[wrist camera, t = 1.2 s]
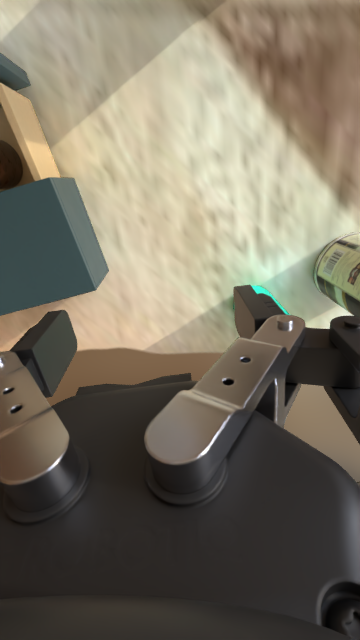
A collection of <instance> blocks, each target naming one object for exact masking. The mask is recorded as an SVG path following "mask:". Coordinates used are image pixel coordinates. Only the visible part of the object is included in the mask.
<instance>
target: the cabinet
mask: <svg viewBox="0 0 360 640" xmlns="http://www.w3.org/2000/svg"><path fill="white" fill-rule="evenodd" d="M108 271H109V269H108V267H107V264H106V261H105V259H104V256H103V254H102V251H101V248H100V246H99V243H98V240H97V238H96V235H95V232H94V230H93V227H92V224H91V222H90V219H89V217H88V214H87V211H86V209H85V206H84V203H83V201H82V198H81V195H80V193H79V190H78V188H77V185H76V182H75V180H74V178H58V177H48V178H45V179H41V180H38V181H35V182H31V183H28V184H25V185H21V186H18V187H15V188H11V189H8V190H5V191H1V192H0V316H1V315H5V314H8V313H12V312H16V311H20V310H24V309H27V308H31V307H35V306H39V305H42V304H46V303H50V302H54V301H58V300H61V299H65V298H69V297H73V296H76V295H80V294H84V293H88V292H91V291H95V290H96V289H97V288H98V286H99V285H100V283H101V282H102V280H103V279H104V277H105V276H106V274H107V273H108Z"/></svg>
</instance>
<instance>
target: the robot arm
mask: <svg viewBox="0 0 360 640" xmlns="http://www.w3.org/2000/svg"><path fill="white" fill-rule="evenodd" d="M234 310H235V323H236V328H237V331H238V333H239V335H240V337H239V338H237V339H236V340H235V342H234V343H233V344H232V345H231V346H230V347H229V348H228V349H227V350H226V352H225V353H224V354H223V355H222V356H221V357H220V358H219V359H218V360H217V361H216V363H215V364H214V365H213V366H212V367H211V368H210V369H209V370H208V372H207V373H206V374H205V375H204V376H203V377H202V378H201V379H200V380H199V381H192V380H191V373H188V374H179V375H171V376H164V377H160V378H157V379H153V380H150V381H146V382H143V383H140V384H137V385H117V384H102V385H94V386H86V387H79V389H78V391H77V394H76V396H73V397H70V398H68V399H65V400H63V401H61V402H59V403H57V404H55V405H53V406H52V407H50V405H49V403H48V402H47V400H46V397H52V396H53V394H54V393H55V391H56V389H57V387H58V385H59V383H60V381H61V379H62V377H63V376H64V373H65V372H66V370H67V368H68V366H69V364H70V362H71V360H72V358H73V357H74V355H75V353H76V351H77V339H76V336H75V333H74V330H73V327H72V324H71V321H70V319H69V316H68V313H67V312H66V311H65V310H59V311H52V312H48V313H47V314H46V315H45V316H44V317H43V318H42V319H41V320H40V321H39V323H38V324H36V325H35V326H33V327H32V328H30V329H29V330H28V331H27V332H26V333H25V334H24V336H23V337H22V338H21V339H20V341H18V342H17V343H16V344H15V345H14V346H13V348H12V349H11V350H10V351H6V352H1V353H0V640H360V482H355V480H354V479H353V478H352V477H351V476H350V475H349V474H348V473H347V472H346V471H345V470H344V469H343V468H342V467H341V466H340V465H339V464H337V463H336V462H335V461H333V460H332V459H330V458H329V457H327V456H326V455H324V454H323V453H321V452H320V451H318V450H317V449H315V448H313V447H312V446H310V445H309V444H307V443H305V442H304V441H302V440H301V439H299V438H298V437H296V436H295V435H293V434H291V433H290V432H288V431H287V430H285V429H284V423H285V420H286V417H287V415H288V413H289V410H290V408H291V406H292V404H293V402H294V400H295V398H296V396H297V393H298V391H299V389H300V387H301V384H310V385H320V386H324V389H325V391H326V392H327V394H328V395H329V397H330V398H331V400H332V402H333V403H334V405H335V406H336V408H337V410H338V411H339V413H340V414H341V416H342V417H343V419H344V421H345V422H346V424H347V425H348V427H349V428H350V430H351V431H352V433H353V435H354V436H355V438H356V439H357V441H358V443H359V444H360V317H357V316H340V317H336V318H334V319H332V320H331V322H330V329H314V328H306V327H305V322H304V320H303V319H301V318H299V317H297V316H293V315H286V314H285V313H284V311H283V310H282V309H281V308H280V307H279V306H278V304H277V303H276V302H275V301H274V300H273V299H272V297H271V296H268V295H266V294H264V293H259V294H257V293H256V292H255V290H254V289H253V288H252V286H251V285H244V286H236V287H234Z"/></svg>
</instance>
